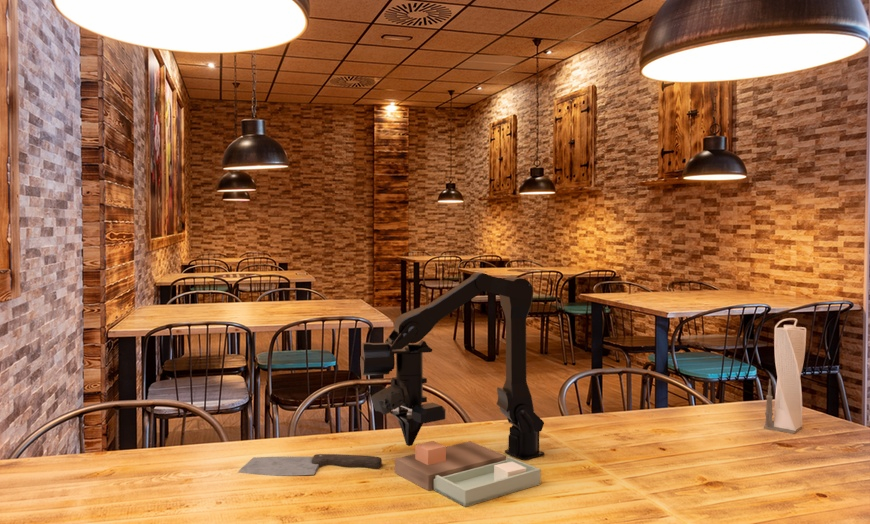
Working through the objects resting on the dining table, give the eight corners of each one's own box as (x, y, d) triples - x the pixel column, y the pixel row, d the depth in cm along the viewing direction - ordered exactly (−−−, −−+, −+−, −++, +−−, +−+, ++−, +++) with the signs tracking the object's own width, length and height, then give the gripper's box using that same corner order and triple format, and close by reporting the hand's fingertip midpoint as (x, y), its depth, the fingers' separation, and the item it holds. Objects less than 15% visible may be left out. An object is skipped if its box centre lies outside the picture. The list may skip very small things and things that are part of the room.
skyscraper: (774, 421, 177) (776, 316, 175) (808, 427, 171) (811, 319, 170) (763, 428, 170) (766, 319, 169) (798, 434, 165) (801, 322, 164)
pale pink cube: (526, 468, 130) (526, 483, 130) (512, 461, 134) (512, 476, 134) (507, 472, 128) (507, 487, 128) (494, 465, 132) (494, 480, 132)
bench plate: (470, 454, 149) (470, 441, 149) (506, 469, 140) (506, 455, 140) (394, 472, 138) (394, 458, 138) (428, 490, 128) (428, 475, 128)
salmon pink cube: (432, 454, 140) (433, 440, 140) (445, 460, 136) (445, 446, 136) (415, 459, 137) (415, 444, 137) (427, 465, 134) (427, 450, 133)
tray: (507, 470, 139) (507, 455, 139) (540, 484, 132) (540, 469, 131) (433, 490, 128) (433, 474, 128) (465, 507, 120) (465, 490, 120)
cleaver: (383, 462, 145) (383, 452, 145) (378, 478, 135) (378, 468, 135) (248, 462, 146) (248, 453, 146) (234, 478, 136) (234, 468, 136)
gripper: (354, 370, 145) (355, 441, 146) (401, 386, 130) (401, 465, 131) (397, 364, 152) (397, 432, 152) (447, 379, 137) (447, 454, 137)
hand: (409, 445), depth 143 cm, fingers closed
